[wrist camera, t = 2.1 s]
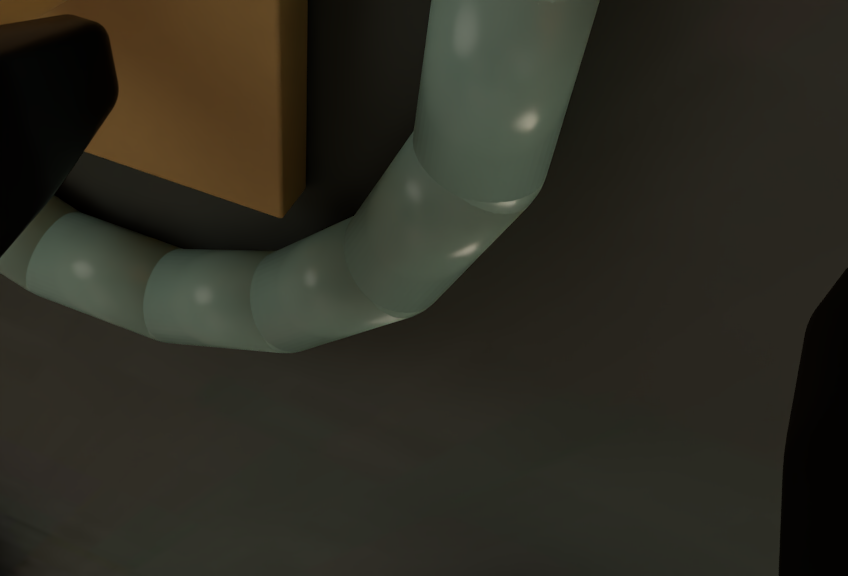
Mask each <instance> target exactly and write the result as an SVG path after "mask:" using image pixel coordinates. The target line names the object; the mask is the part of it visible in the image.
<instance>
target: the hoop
mask: <svg viewBox="0 0 848 576" xmlns="http://www.w3.org/2000/svg"><path fill="white" fill-rule="evenodd" d="M599 2H600V0H431V6H430V14H429V21H428V29H427V36H426V44H425V51H424V59H423V66H422V73H421V81H420V88H419V96H418V103H417V111H416V118H415V126H414V131H413V132H412V134H411V135H410V137H409V138H408V140H407V141H406V142H405V144H404V145H403V147H402V148H401V150H400V151H399V152H398V154H397V155H396V157H395V158H394V160H393V161H392V162H391V164H390V165H389V167H388V168H387V170H386V171H385V172H384V174H383V175H382V177H381V178H380V180H379V181H378V182H377V184H376V185H375V187H374V188H373V190H372V191H371V192H370V194H369V195H368V197H367V198H366V200H365V201H364V202H363V204H362V205H361V207H360V208H359V210H358V211H357V212H356V214H355V215H354V216H352V217H350V218H348V219H346V220H344V221H341V222H339V223H337V224H335V225H332V226H330V227H328V228H326V229H324V230H321V231H319V232H317V233H315V234H313V235H310V236H308V237H306V238H304V239H302V240H299V241H297V242H295V243H293V244H291V245H288V246H286V247H284V248H282V249H279V250H277V251H254V250H207V249H182V248H179V247H176V246H174V245H171V244H168V243H165V242H162V241H160V240H157V239H154V238H151V237H148V236H145V235H143V234H140V233H137V232H134V231H131V230H129V229H126V228H123V227H120V226H117V225H115V224H112V223H109V222H106V221H103V220H101V219H98V218H95V217H92V216H89V215H86V214H84V213H81V212H79V211H78V210H76V209H75V208H73V207H72V206H70V205H68V204H67V203H65V202H64V201H62V200H61V199H59V198H58V197H56V196H55V195H53V197H52V198H51V199H50V200H49V201H48V203H47V204H46V205H45V206H44V208H43V209H42V210H41V211H40V212H39V214H38V215H37V216H36V217H35V218H34V219H33V221H32V222H31V223H30V224H29V225H28V226H27V228H26V229H25V230H24V231H23V232H22V233H21V234H20V236H19V237H18V238H17V239H16V240H15V241H14V243H13V244H12V245H11V246H10V247H9V248H8V250H7V251H6V252H5V253H4V254H3V255H2V257H1V258H0V273H1V274H2V275H4V276H5V277H7V278H9V279H10V280H12V281H13V282H15V283H17V284H18V285H20V286H21V287H23V288H25V289H26V290H28V291H30V292H32V293H34V294H36V295H38V296H40V297H43V298H46V299H48V300H51V301H54V302H56V303H59V304H61V305H64V306H67V307H69V308H72V309H75V310H77V311H80V312H83V313H85V314H88V315H91V316H93V317H96V318H98V319H101V320H104V321H106V322H109V323H112V324H114V325H117V326H120V327H122V328H125V329H128V330H130V331H133V332H135V333H138V334H141V335H143V336H146V337H149V338H151V339H154V340H157V341H161V342H165V343H174V344H185V345H197V346H208V347H219V348H230V349H242V350H253V351H264V352H275V353H295V352H300V351H304V350H307V349H310V348H313V347H317V346H320V345H323V344H326V343H329V342H333V341H336V340H339V339H342V338H346V337H349V336H352V335H355V334H358V333H362V332H365V331H368V330H371V329H374V328H378V327H381V326H384V325H387V324H391V323H394V322H397V321H400V320H403V319H407V318H410V317H413V316H415V315H417V314H419V313H421V312H423V311H425V310H426V309H427V308H428V307H430V306H431V305H432V304H433V303H434V302H435V301H436V300H437V299H438V298H439V297H440V296H441V295H442V294H443V293H444V292H445V291H446V290H447V289H448V288H449V287H450V286H451V285H452V284H453V283H454V282H455V281H456V280H457V279H458V278H459V277H460V276H461V275H462V274H463V273H464V272H465V271H466V270H467V269H468V268H469V267H470V266H471V265H472V264H473V263H474V262H475V260H476V259H477V258H478V257H479V256H480V255H481V254H482V253H483V252H484V251H485V250H486V249H487V248H488V247H489V246H490V245H491V244H492V243H493V242H494V241H495V240H496V239H497V238H498V237H499V236H500V235H501V234H502V233H503V232H504V231H505V230H506V229H507V228H508V227H509V226H510V225H511V224H512V223H513V222H514V221H515V220H516V219H517V217H518V216H519V215H520V214H521V213H522V212H523V211H524V210H525V209H526V208H527V207H528V206H529V205H530V204H531V203H532V202H533V200H534V199H535V198H536V196H537V195H538V193H539V192H540V190H541V188H542V186H543V184H544V181H545V179H546V176H547V173H548V170H549V166H550V163H551V160H552V156H553V153H554V150H555V147H556V143H557V140H558V137H559V133H560V130H561V127H562V123H563V120H564V117H565V114H566V110H567V107H568V104H569V100H570V97H571V94H572V91H573V87H574V84H575V81H576V77H577V74H578V71H579V68H580V64H581V61H582V58H583V54H584V51H585V48H586V44H587V41H588V38H589V35H590V31H591V28H592V25H593V21H594V18H595V15H596V12H597V8H598V5H599Z"/></svg>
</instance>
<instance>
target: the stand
mask: <svg viewBox="0 0 848 576" xmlns="http://www.w3.org/2000/svg"><path fill="white" fill-rule="evenodd" d="M64 14H71V15H76V16H79V17H82V18H85V19H89V20H92V21H95V22H98V23H100V24H101V25H102V26H103V27H104V28H105V29H106V31H107V33H108V35H109V38H110V43H111V48H112V53H113V58H114V63H115V68H116V73H117V78H118V84H119V94H118V99H117V102H116V104H115V106H114V108H113V109H112V111H111V112H110V114H109V115H108V117H107V118H106V120H105V121H104V123H103V124H102V126H101V127H100V129H99V130H98V131H97V133H96V134H95V136H94V137H93V139H92V140H91V142H90V143H89V145H88V146H87V148H86V149H85V151H84V152H87V153H90V154H93V155H96V156H99V157H102V158H105V159H108V160H111V161H114V162H116V163H119V164H122V165H125V166H128V167H131V168H134V169H137V170H140V171H143V172H146V173H149V174H152V175H154V176H157V177H160V178H163V179H166V180H169V181H172V182H175V183H178V184H181V185H184V186H187V187H190V188H193V189H195V190H198V191H201V192H204V193H207V194H210V195H213V196H216V197H219V198H222V199H225V200H228V201H231V202H234V203H236V204H239V205H242V206H245V207H248V208H251V209H254V210H257V211H260V212H263V213H266V214H269V215H272V216H274V217H277V218H283V217H284V216H285V214H286V213H287V212H288V210H289V209H290V208H291V207H292V205H293V204H294V203H295V201H296V200H297V199H298V198H299V196H300V195H301V194H302V192H303V191H304V190H305V188H306V116H307V18H308V0H0V25H2V24H9V23H15V22H21V21H27V20H33V19H39V18H45V17H51V16H57V15H64Z"/></svg>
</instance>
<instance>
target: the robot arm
mask: <svg viewBox="0 0 848 576" xmlns="http://www.w3.org/2000/svg"><path fill="white" fill-rule="evenodd" d="M118 94H119V84H118V78H117V73H116V68H115V63H114V58H113V53H112V48H111V43H110V38H109V35H108V33H107V31H106V29H105V28H104V27H103V26H102V25H101V24H100V23H98V22H95V21H92V20H89V19H85V18H82V17H79V16H76V15H71V14H64V15H57V16H51V17H45V18H39V19H33V20H27V21H21V22H15V23H9V24H2V25H0V258H1V257H2V255H3V254H4V253H5V252H6V251H7V250H8V248H9V247H10V246H11V245H12V244H13V243H14V241H15V240H16V239H17V238H18V237H19V236H20V234H21V233H22V232H23V231H24V230H25V229H26V228H27V226H28V225H29V224H30V223H31V222H32V221H33V219H34V218H35V217H36V216H37V215H38V214H39V212H40V211H41V210H42V209H43V208H44V206H45V205H46V204H47V203H48V201H49V200H50V199H51V198H52V197H53V195H54V194H55V192H56V191H57V190H58V188H59V187H60V186H61V184H62V183H63V181H64V180H65V178H66V177H67V175H68V174H69V173H70V171H71V170H72V168H73V167H74V165H75V164H76V162H77V161H78V159H79V158H80V156H81V155H82V153H83V152H84V151H85V149H86V148H87V146H88V145H89V143H90V142H91V140H92V139H93V137H94V136H95V134H96V133H97V131H98V130H99V129H100V127H101V126H102V124H103V123H104V121H105V120H106V118H107V117H108V115H109V114H110V112H111V111H112V109H113V108H114V106H115V104H116V102H117V99H118ZM779 576H848V268H847V269H846V270H845V271H844V273H843V274H842V275H841V277H840V278H839V279H838V281H837V282H836V283H835V284H834V286H833V287H832V288H831V290H830V291H829V292H828V294H827V295H826V296H825V298H824V299H823V300H822V302H821V303H820V304H819V306H818V307H817V308H816V310H815V311H814V313H813V314H812V316H811V318H810V320H809V323H808V325H807V328H806V332H805V337H804V343H803V348H802V354H801V359H800V365H799V371H798V376H797V382H796V387H795V393H794V399H793V404H792V410H791V415H790V421H789V427H788V432H787V438H786V445H785V452H784V464H783V479H782V505H781V530H780V555H779Z"/></svg>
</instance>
